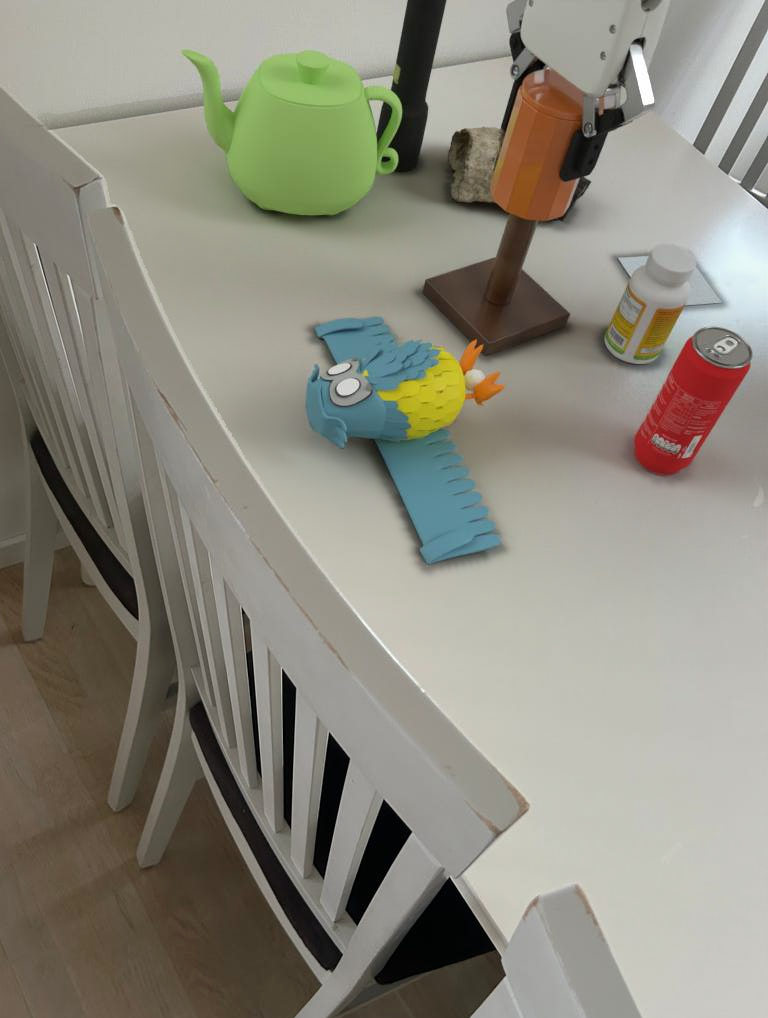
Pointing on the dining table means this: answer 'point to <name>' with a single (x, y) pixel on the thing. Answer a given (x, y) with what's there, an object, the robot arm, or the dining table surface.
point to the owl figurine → (407, 424)
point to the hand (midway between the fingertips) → (545, 150)
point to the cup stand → (498, 295)
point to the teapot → (301, 132)
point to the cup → (538, 148)
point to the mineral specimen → (483, 165)
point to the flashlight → (413, 79)
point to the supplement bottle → (651, 305)
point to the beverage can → (692, 399)
